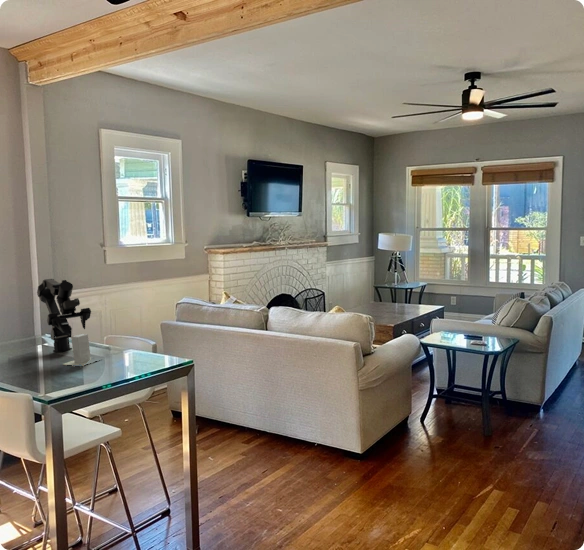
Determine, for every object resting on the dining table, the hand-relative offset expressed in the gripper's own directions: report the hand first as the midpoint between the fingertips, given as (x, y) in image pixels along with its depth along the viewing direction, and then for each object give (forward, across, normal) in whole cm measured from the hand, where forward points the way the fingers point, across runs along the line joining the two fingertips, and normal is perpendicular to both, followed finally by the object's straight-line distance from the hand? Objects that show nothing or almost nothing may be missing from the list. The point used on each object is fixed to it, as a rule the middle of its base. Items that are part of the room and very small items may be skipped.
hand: (74, 330), depth 251 cm
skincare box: (+15, 0, +4) cm, 15 cm away
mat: (+15, 0, +4) cm, 16 cm away
